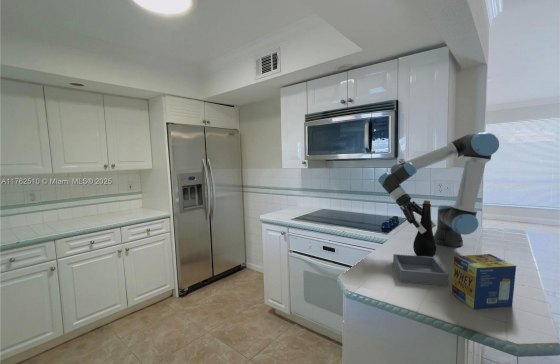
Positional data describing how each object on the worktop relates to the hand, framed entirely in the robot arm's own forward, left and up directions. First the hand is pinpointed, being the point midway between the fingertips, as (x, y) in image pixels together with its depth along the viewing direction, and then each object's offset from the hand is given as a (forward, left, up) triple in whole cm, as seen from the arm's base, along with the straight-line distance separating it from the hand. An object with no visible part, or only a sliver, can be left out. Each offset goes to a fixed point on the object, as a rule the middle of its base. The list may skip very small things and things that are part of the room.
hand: (429, 229), depth 132 cm
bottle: (+2, -1, -16) cm, 16 cm away
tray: (+10, +19, -15) cm, 27 cm away
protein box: (-7, +37, -16) cm, 41 cm away
